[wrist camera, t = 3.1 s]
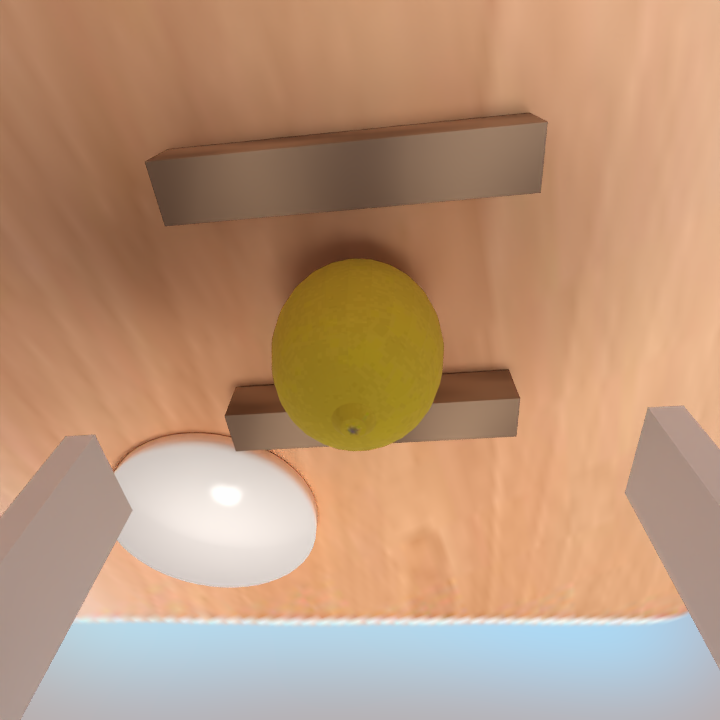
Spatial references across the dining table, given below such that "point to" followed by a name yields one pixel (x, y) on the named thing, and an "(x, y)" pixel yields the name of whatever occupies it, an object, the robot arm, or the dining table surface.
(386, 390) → the lemon
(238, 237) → the dining table surface
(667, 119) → the dining table surface
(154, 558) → the saucer
